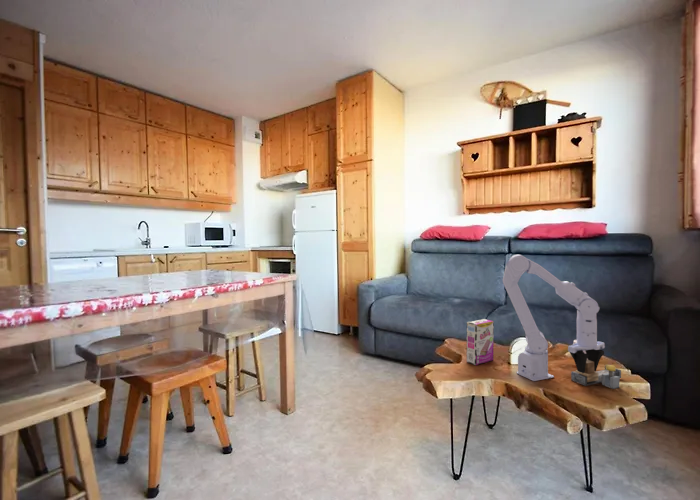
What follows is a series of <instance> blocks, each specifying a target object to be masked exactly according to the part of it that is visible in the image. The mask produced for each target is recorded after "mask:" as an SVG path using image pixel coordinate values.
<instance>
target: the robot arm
mask: <svg viewBox="0 0 700 500" xmlns="http://www.w3.org/2000/svg"><path fill="white" fill-rule="evenodd" d="M504 268H505V269H504V272H503V277H502V284H503V286H504V288H505V290H506V292H507V295H508V297H509V300H510V301H511V304H512V306H513V308H514V311H515V313H516V315H517V317H518V319H519V322H520V324H521V326H522V328H523V331H524V333H525V340H526V343H527V344H526V346H525V348H524V351H523V352H520V353H519V354H518V357H517V371H516V374H517V375H519V376H521V377H524V378H526V379H529V380H530V381H532V382H536V381H540V380H541V381H542V380H548V379H551V378H554V377H555V376H554V375H553V374H550V373H549V351H548V348H549V343H548V341H547V339H546V338H545V334H544V333H543V332H542V331H541V330H540V329H539V327H538V326H537V324H536V321H535V318H534V317H533V315H532V312H531V310H530V308H529V306H528V303H527V302H526V301H527V300H526V299H525V297H524V294H523V293H522V290H521V288H520V286H519V284H518V283H519V281H520V279H521V277H522V275H523V274H524V273H525V272H526V273H527V274H530V275H536V276H537V277H539V278H540V279H542V280H543V281H544V282H546V283H548V284H549V285H550V286H552V287H553V288H554V289H555V294H556V295H558V296H559V297H560V298H561V299H563V301H566V302H567V303H568V304H569V305H571V306H574V307H575V309H576V340H577V343H575V344H574V343H572V344H570V345H567V347H568V348H567V351H568V352H569V354H570V355H571V357H572V359H573V361H574V364H575V367H576V370H577V371H578V372H581V373H585V367H586V361H587V358H588V360H590V361H593V362H594V372H596V371H597V369H598V366H599V363H600V360H601V358H602V357H603V356H604V354H605V350H603V349H605V348H606V344H605V342H602V341H600V340H599V341H598V319H597V314H598V313H599V311H600V308H601V307H600V306H599V304H598V302H597V301H596V300H595V299H594V298H592V297H590V296H589V293H587V292H586V291H582V290H581V289H579V288H578V287H577V286H576V283H574V282H573V281H571V282H569V281H567V280H566V281H565V280H563V281H561V280H560V279H559V278H558V277H556V276H555V275H553V273H551V272H549V271H548V270H547V269H546V268H544V267H543V266H541V264H539V263H537V262H535V261H533V260H531V259H529V258H527V257H525V256H524V255H522V254H513V255H512V256H510V258H509V259H508V261H507V262H506V264H505V267H504ZM583 351H586V354H585V353H584V352H583Z"/></svg>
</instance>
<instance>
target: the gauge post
mask: <svg viewBox="0 0 700 500" xmlns="http://www.w3.org/2000/svg"><path fill="white" fill-rule="evenodd" d="M601 385H602V386H604V387H607V388H610V389H612V390H614V389H620V379H619V377H618V376H614V377H610V380H609V373H607V374H602V383H601Z"/></svg>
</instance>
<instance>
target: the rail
mask: <svg viewBox="0 0 700 500" xmlns="http://www.w3.org/2000/svg"><path fill="white" fill-rule="evenodd" d="M606 365H607V364H605V365H604V369H602V370H596V371H595V372H597V373H598V380H596V381H591V382H587V376H584V375H581V374H579V373H576V372H575V371H571V372H570V377H571V379H570V380H571V381H572V382H574V383H576V384H580V385H583V386H585V387H587V386H592V385H596V384H602V374H607V373H609V370H606ZM614 376H618V377H619V380H621V379H622V369H619V368H616V371H613V377H614ZM620 378H621V379H620Z"/></svg>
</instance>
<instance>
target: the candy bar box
mask: <svg viewBox="0 0 700 500" xmlns="http://www.w3.org/2000/svg"><path fill="white" fill-rule="evenodd" d="M494 323H495V322H494V321H493V320H490V319H486V318H482V319H478V320H472V321H467V322H466V363H469V364H471V365H474V366H479V365H481V364H485V363H488V362H492V361H494V334H495V331H494V329H495V327H494Z"/></svg>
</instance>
